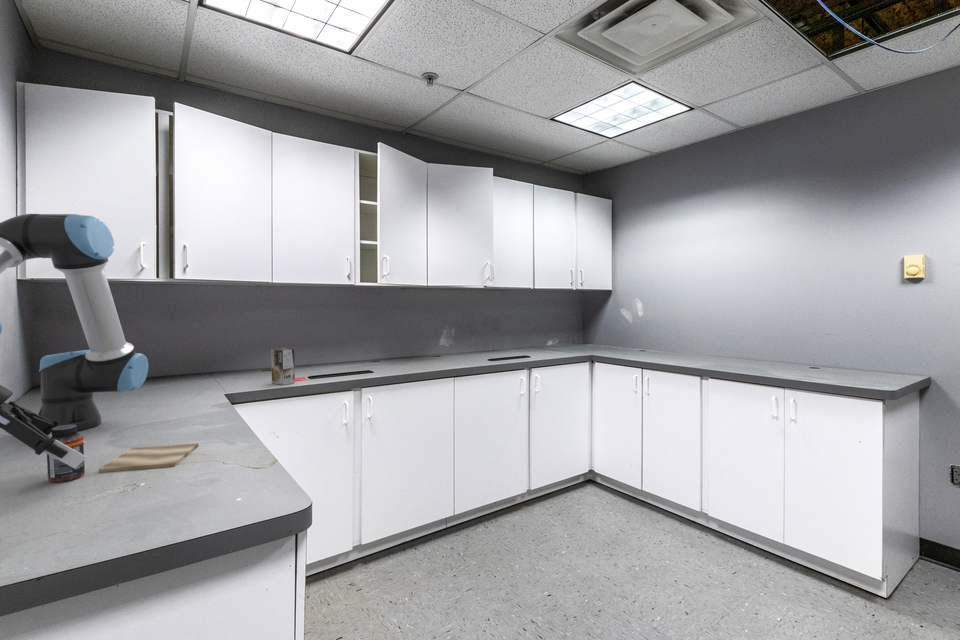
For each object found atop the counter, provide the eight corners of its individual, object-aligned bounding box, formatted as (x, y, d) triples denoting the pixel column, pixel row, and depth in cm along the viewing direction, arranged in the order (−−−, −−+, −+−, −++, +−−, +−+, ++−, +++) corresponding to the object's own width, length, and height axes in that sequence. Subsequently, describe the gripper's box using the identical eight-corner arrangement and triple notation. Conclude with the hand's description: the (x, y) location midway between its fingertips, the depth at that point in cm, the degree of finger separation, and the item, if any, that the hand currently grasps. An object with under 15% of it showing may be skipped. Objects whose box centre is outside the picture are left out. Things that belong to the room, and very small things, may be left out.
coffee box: (295, 383, 212) (294, 348, 211) (283, 385, 206) (282, 350, 206) (283, 381, 217) (282, 347, 216) (271, 383, 211) (270, 349, 211)
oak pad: (132, 450, 116) (132, 447, 116) (198, 446, 119) (198, 443, 119) (99, 472, 101) (98, 468, 101) (174, 466, 105) (174, 462, 105)
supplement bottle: (56, 475, 100) (54, 424, 99) (90, 471, 102) (88, 421, 101) (41, 485, 94) (39, 431, 94) (77, 481, 96) (75, 428, 96)
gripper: (-34, 401, 96) (65, 455, 107) (-60, 425, 78) (63, 486, 88) (1, 374, 99) (94, 428, 110) (-16, 390, 81) (97, 454, 92)
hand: (80, 454), depth 99 cm, fingers open, 12 cm apart
